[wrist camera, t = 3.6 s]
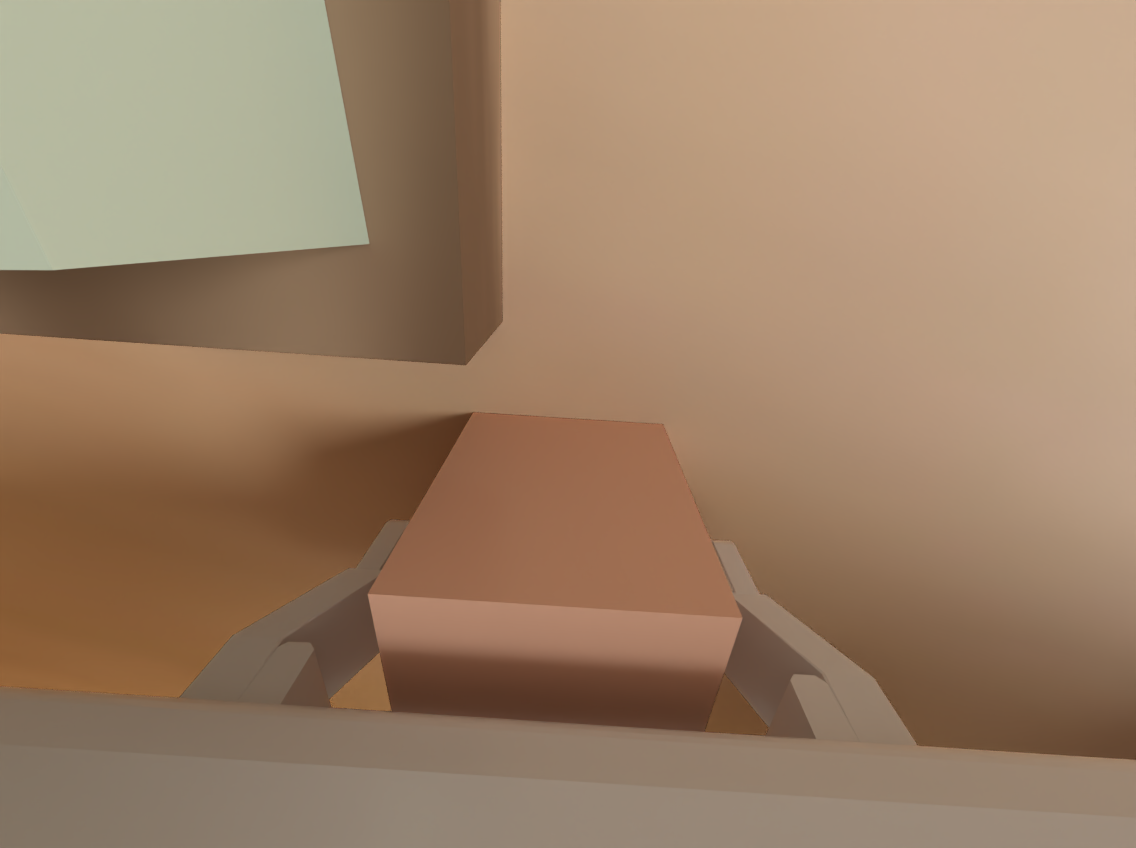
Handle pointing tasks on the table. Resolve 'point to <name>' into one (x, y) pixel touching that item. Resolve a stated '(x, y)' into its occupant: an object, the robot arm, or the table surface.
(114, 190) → the tower top
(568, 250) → the table surface
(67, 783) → the robot arm
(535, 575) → the block
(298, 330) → the tower base
